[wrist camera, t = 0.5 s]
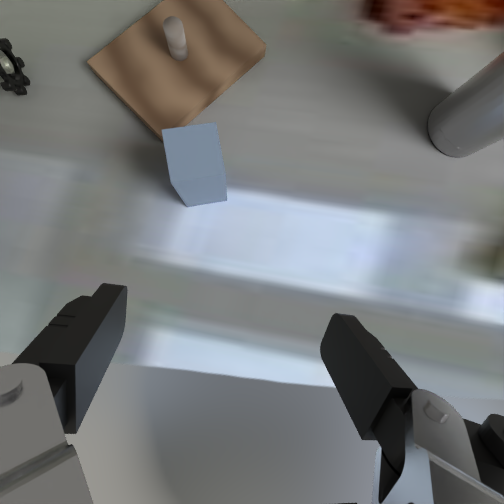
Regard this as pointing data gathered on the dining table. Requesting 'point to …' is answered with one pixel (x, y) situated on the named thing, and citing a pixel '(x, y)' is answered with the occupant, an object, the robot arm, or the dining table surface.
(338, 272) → the dining table surface
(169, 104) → the post plate
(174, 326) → the dining table surface
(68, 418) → the robot arm
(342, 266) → the dining table surface
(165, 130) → the block
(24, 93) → the valve
